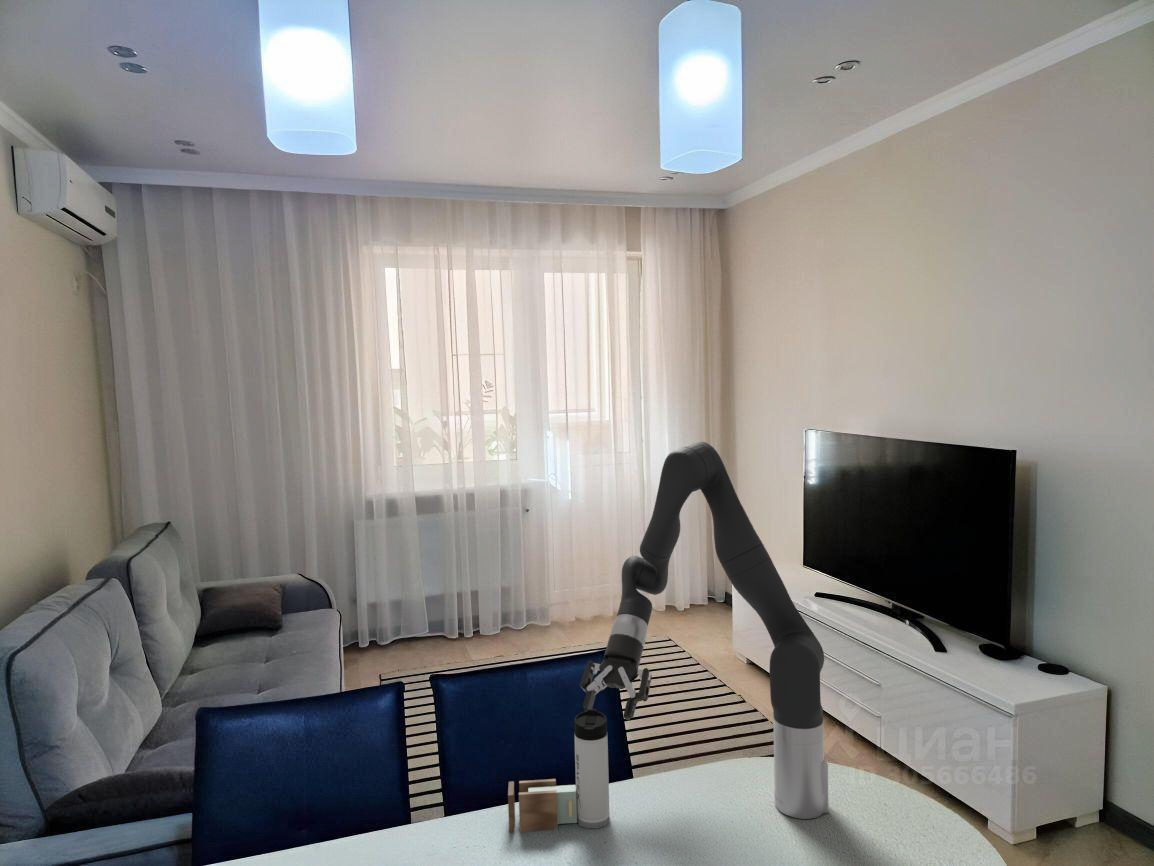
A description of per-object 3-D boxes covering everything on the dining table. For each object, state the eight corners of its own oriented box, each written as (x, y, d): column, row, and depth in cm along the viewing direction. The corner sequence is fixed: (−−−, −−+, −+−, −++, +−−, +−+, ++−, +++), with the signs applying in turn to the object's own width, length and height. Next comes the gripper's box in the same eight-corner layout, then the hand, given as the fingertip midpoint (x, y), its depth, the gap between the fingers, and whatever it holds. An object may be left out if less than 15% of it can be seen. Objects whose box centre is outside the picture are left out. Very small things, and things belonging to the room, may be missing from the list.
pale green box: (576, 815, 140) (575, 784, 140) (577, 824, 137) (576, 792, 137) (529, 818, 140) (528, 787, 139) (529, 827, 137) (528, 795, 136)
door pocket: (556, 814, 141) (555, 778, 141) (557, 829, 136) (556, 792, 136) (509, 817, 141) (508, 781, 140) (509, 832, 136) (507, 795, 135)
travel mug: (610, 810, 142) (608, 708, 141) (608, 829, 136) (605, 723, 135) (578, 809, 143) (576, 708, 142) (574, 828, 136) (572, 722, 136)
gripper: (590, 628, 156) (568, 701, 146) (653, 636, 150) (634, 713, 140) (601, 645, 161) (580, 717, 151) (663, 653, 155) (645, 729, 145)
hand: (606, 715), depth 146 cm, fingers open, 8 cm apart
